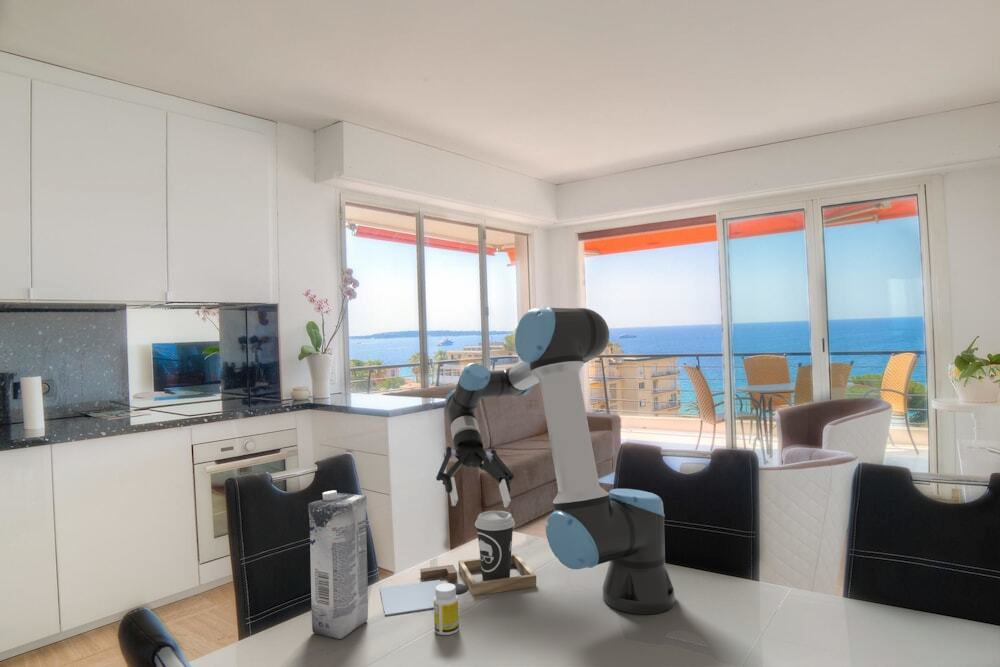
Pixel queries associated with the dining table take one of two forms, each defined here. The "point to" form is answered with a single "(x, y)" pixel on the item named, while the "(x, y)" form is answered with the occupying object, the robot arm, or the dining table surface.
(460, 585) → the dark grey round disc
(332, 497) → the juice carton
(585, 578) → the dining table surface
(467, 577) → the wooden square frame
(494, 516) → the coffee cup
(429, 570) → the walnut crook
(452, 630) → the supplement bottle
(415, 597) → the slate pad
